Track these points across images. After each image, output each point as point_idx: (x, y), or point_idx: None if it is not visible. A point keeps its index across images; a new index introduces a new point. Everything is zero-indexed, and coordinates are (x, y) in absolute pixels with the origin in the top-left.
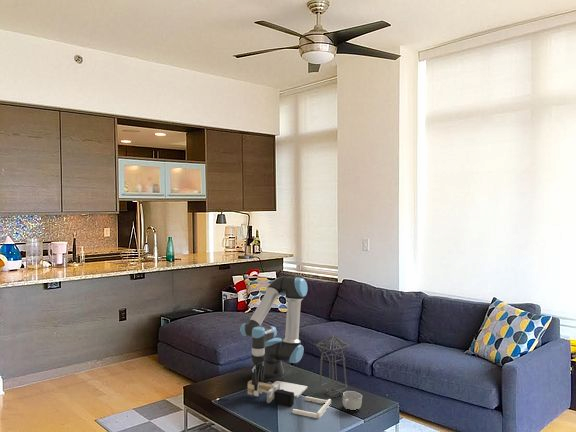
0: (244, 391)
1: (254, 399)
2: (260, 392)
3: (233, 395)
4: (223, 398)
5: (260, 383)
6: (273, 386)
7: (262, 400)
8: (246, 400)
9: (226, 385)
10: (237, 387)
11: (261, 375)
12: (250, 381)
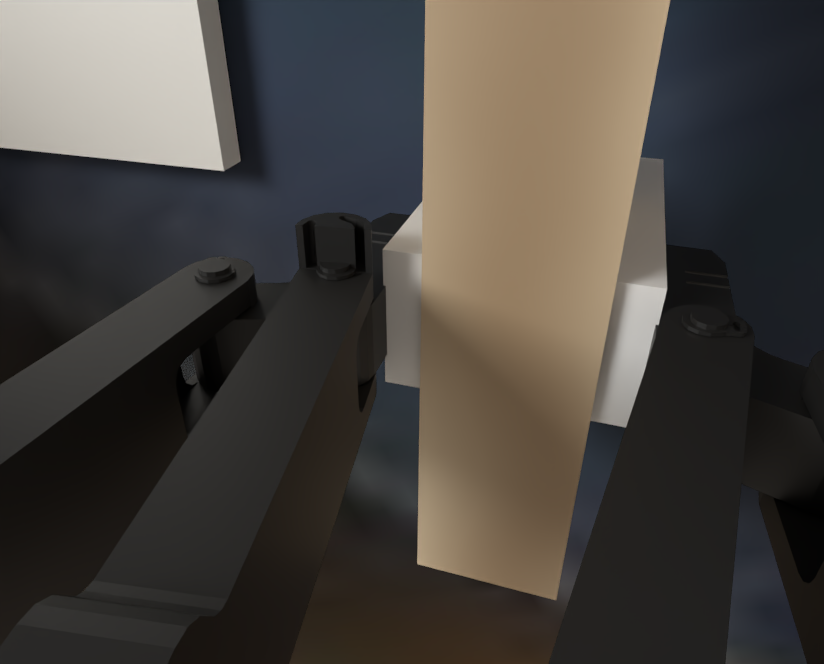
0: (402, 457)
1: (666, 215)
2: None
3: None
4: (755, 652)
5: (511, 258)
6: (19, 74)
7: (674, 19)
8: (758, 343)
9: (344, 654)
10: (331, 554)
11: (283, 412)
12: (484, 550)
